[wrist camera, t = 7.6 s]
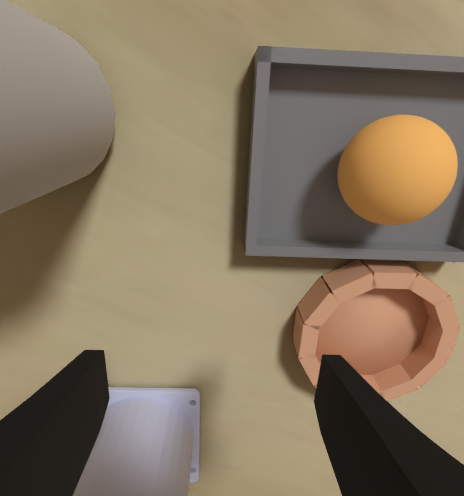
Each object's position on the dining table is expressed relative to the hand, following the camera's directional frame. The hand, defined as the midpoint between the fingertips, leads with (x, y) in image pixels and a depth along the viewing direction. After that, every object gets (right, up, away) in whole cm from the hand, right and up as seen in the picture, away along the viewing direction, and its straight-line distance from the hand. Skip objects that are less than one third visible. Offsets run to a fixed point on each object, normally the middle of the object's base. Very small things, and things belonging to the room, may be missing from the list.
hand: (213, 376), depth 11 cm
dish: (+10, -1, +11) cm, 15 cm away
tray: (+8, +9, +7) cm, 14 cm away
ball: (+8, +8, +5) cm, 12 cm away
